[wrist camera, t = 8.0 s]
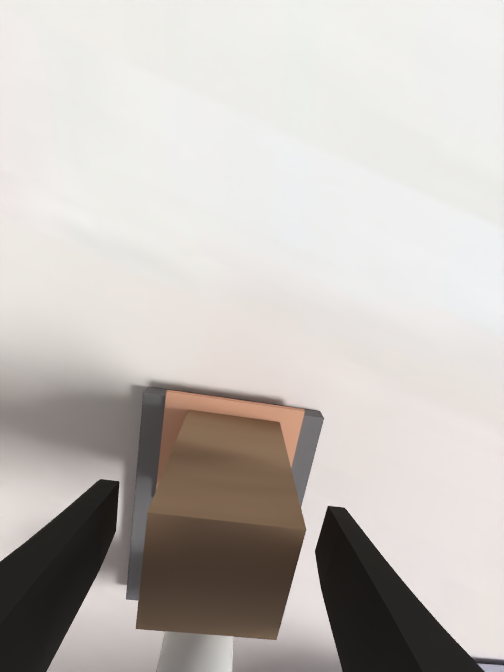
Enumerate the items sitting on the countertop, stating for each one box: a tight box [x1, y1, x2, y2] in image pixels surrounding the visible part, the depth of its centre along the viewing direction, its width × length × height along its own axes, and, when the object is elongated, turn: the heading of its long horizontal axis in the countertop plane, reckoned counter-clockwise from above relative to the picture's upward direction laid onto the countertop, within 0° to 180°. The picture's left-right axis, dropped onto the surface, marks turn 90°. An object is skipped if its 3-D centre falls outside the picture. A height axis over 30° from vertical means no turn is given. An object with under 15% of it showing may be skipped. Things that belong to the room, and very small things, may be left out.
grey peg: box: [156, 631, 233, 672], centre depth 11 cm, size 3×3×5 cm
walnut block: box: [136, 410, 306, 640], centre depth 9 cm, size 4×4×5 cm
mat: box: [126, 387, 324, 600], centre depth 13 cm, size 13×8×1 cm, turn 170°
